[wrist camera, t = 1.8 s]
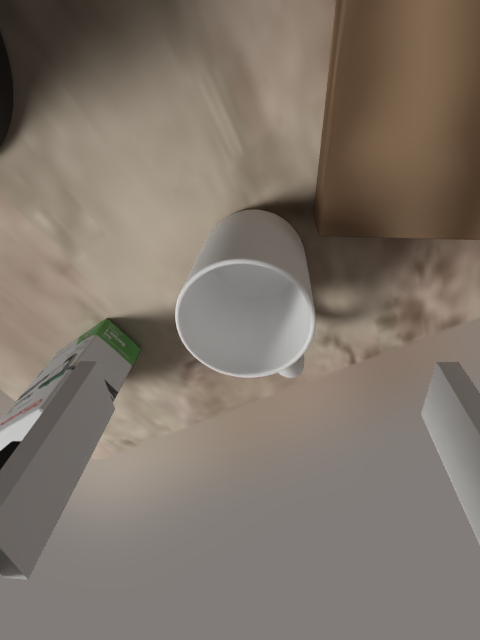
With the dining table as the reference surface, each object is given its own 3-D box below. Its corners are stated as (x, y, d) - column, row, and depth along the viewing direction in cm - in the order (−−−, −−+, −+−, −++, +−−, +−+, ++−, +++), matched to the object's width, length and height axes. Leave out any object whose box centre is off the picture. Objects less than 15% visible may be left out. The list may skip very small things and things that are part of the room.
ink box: (108, 315, 34) (37, 407, 24) (144, 350, 36) (92, 448, 26) (54, 353, 37) (-28, 447, 27) (89, 383, 39) (25, 481, 29)
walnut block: (312, 214, 27) (319, 236, 23) (341, -61, 19) (359, -105, 15) (517, 218, 26) (563, 241, 22) (639, -74, 18) (748, -125, 14)
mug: (337, 309, 31) (360, 392, 23) (255, 343, 34) (248, 427, 25) (276, 186, 26) (275, 231, 17) (185, 237, 29) (146, 298, 20)
